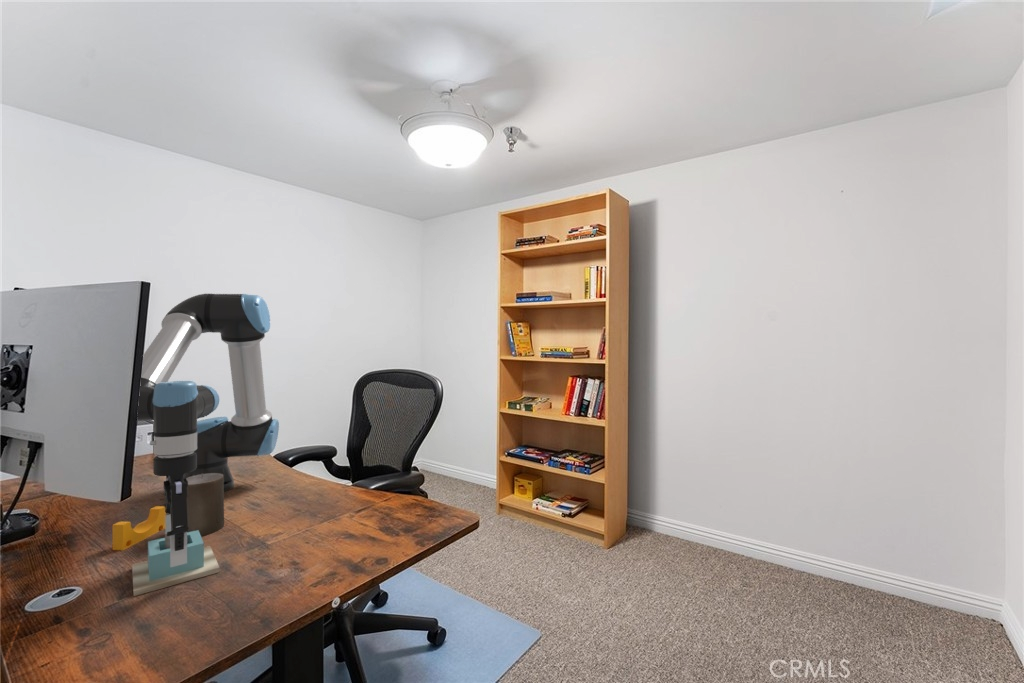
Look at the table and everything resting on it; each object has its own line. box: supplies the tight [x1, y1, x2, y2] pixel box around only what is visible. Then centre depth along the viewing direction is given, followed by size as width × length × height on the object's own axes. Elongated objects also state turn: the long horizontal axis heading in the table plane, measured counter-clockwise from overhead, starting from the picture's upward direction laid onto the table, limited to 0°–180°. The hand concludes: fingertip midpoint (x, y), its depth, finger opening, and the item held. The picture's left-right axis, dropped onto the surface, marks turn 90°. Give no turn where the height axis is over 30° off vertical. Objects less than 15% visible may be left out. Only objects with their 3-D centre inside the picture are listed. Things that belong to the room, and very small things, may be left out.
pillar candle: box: [181, 473, 225, 537], centre depth 117 cm, size 10×10×15 cm
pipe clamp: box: [112, 505, 167, 551], centre depth 111 cm, size 12×4×6 cm, turn 176°
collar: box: [147, 530, 205, 581], centre depth 97 cm, size 9×9×5 cm
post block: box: [131, 533, 221, 597], centre depth 96 cm, size 14×14×8 cm
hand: (175, 553), depth 96 cm, fingers open, 13 cm apart
